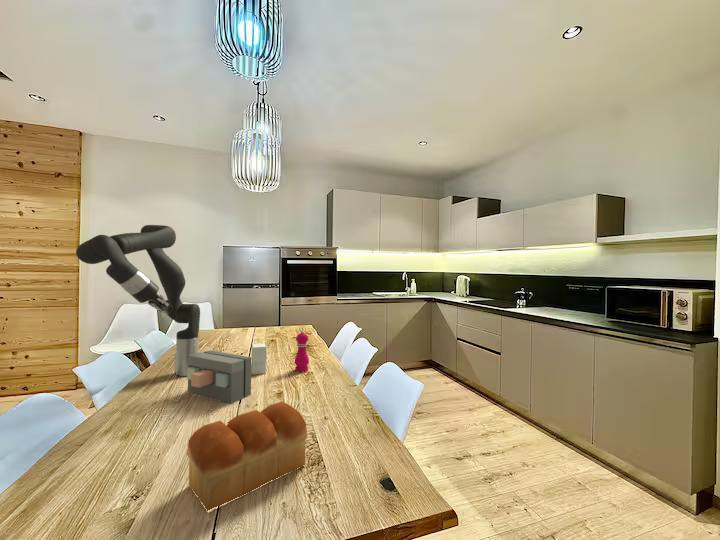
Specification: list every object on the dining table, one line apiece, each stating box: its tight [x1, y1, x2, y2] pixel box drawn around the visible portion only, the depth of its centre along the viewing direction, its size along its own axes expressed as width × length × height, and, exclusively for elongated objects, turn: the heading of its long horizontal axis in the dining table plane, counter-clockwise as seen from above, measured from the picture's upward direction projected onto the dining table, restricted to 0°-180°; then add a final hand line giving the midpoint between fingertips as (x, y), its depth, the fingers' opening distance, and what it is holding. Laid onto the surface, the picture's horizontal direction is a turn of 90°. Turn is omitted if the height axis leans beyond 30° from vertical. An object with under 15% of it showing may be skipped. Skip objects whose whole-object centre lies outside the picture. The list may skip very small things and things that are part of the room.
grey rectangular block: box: [216, 372, 229, 387], centre depth 125 cm, size 4×8×4 cm, turn 155°
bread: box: [186, 401, 308, 511], centre depth 80 cm, size 25×12×15 cm, turn 135°
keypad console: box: [187, 349, 252, 405], centre depth 131 cm, size 24×10×15 cm, turn 65°
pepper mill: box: [294, 329, 310, 372], centre depth 164 cm, size 7×7×20 cm
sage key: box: [186, 366, 200, 380], centre depth 132 cm, size 4×8×4 cm, turn 155°
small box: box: [251, 342, 267, 376], centre depth 160 cm, size 8×6×13 cm
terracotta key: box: [191, 369, 214, 388], centre depth 125 cm, size 4×8×4 cm, turn 155°
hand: (176, 318), depth 120 cm, fingers closed
